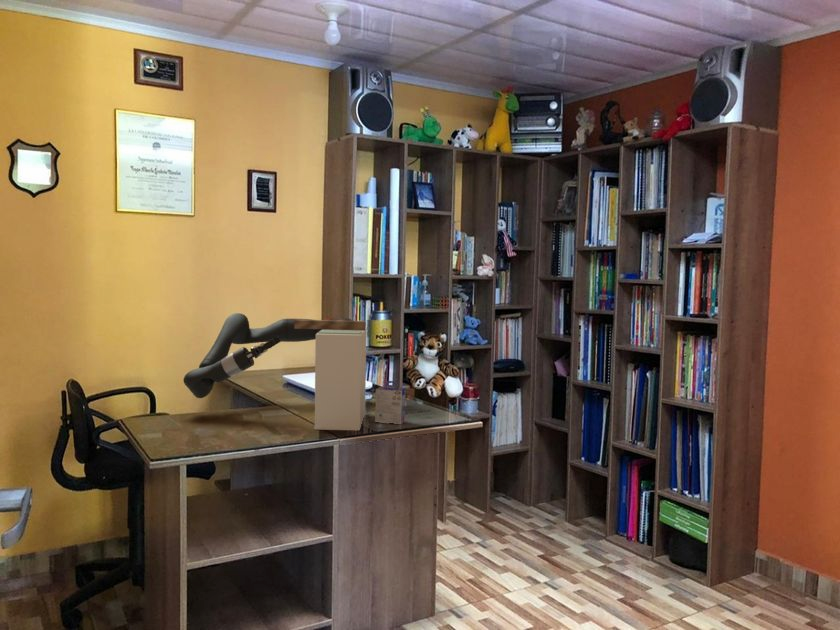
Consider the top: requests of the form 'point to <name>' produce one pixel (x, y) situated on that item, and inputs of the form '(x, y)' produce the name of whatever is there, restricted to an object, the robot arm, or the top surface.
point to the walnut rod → (329, 324)
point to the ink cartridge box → (390, 404)
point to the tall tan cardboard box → (340, 379)
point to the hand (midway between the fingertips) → (277, 340)
